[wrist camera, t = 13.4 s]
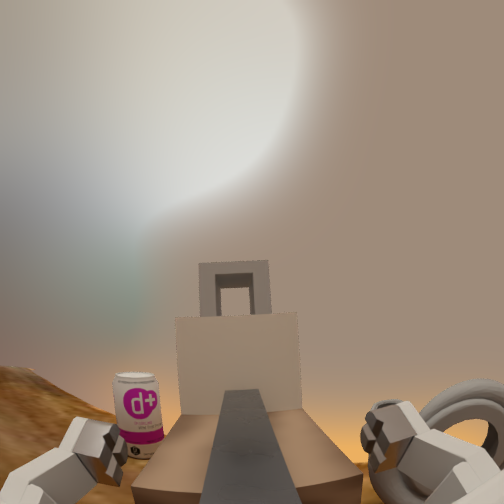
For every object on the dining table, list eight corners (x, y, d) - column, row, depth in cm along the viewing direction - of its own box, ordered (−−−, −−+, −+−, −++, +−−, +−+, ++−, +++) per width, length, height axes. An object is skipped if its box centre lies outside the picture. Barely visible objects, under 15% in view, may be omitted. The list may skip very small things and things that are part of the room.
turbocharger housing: (501, 478, 14) (519, 361, 18) (512, 506, 9) (542, 370, 12) (368, 499, 22) (373, 388, 26) (356, 530, 17) (364, 406, 20)
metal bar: (208, 579, 4) (194, 524, 5) (227, 420, 23) (225, 390, 24) (305, 573, 4) (307, 517, 5) (260, 418, 24) (258, 388, 24)
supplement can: (171, 458, 38) (162, 377, 42) (123, 461, 35) (112, 377, 38) (161, 442, 45) (153, 371, 49) (120, 444, 41) (111, 371, 45)
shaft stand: (196, 517, 21) (174, 263, 29) (204, 480, 31) (189, 280, 39) (303, 511, 22) (292, 258, 30) (289, 476, 32) (278, 276, 39)
